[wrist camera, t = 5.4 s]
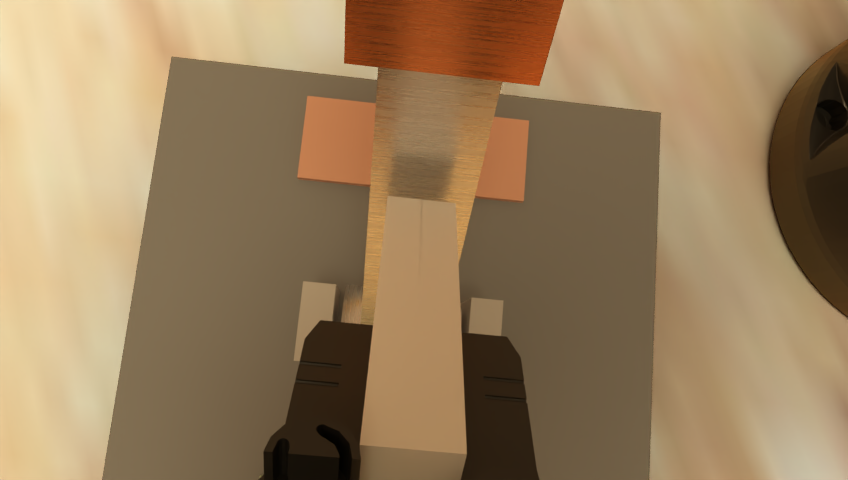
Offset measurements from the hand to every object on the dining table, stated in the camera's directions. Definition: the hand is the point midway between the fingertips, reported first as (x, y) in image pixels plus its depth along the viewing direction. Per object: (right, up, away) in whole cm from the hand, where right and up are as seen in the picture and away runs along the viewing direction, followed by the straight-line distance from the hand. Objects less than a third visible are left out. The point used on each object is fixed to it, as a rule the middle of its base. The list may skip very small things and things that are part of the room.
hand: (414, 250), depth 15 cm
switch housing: (-1, -4, +13) cm, 13 cm away
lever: (-1, -3, +7) cm, 8 cm away
